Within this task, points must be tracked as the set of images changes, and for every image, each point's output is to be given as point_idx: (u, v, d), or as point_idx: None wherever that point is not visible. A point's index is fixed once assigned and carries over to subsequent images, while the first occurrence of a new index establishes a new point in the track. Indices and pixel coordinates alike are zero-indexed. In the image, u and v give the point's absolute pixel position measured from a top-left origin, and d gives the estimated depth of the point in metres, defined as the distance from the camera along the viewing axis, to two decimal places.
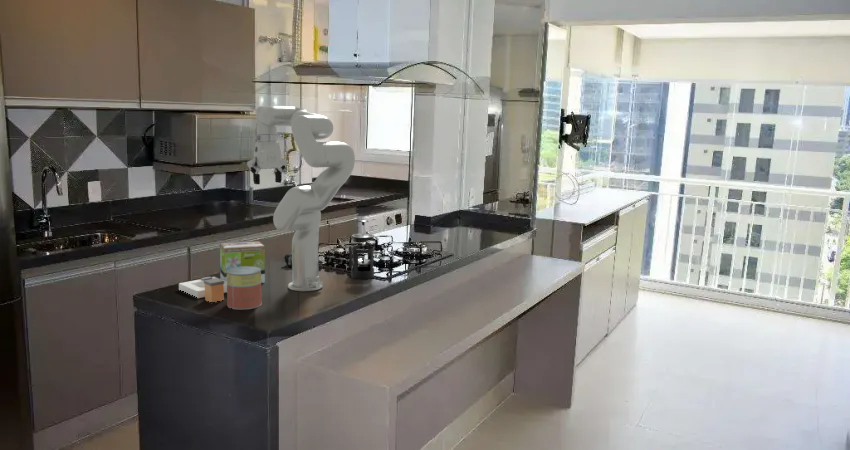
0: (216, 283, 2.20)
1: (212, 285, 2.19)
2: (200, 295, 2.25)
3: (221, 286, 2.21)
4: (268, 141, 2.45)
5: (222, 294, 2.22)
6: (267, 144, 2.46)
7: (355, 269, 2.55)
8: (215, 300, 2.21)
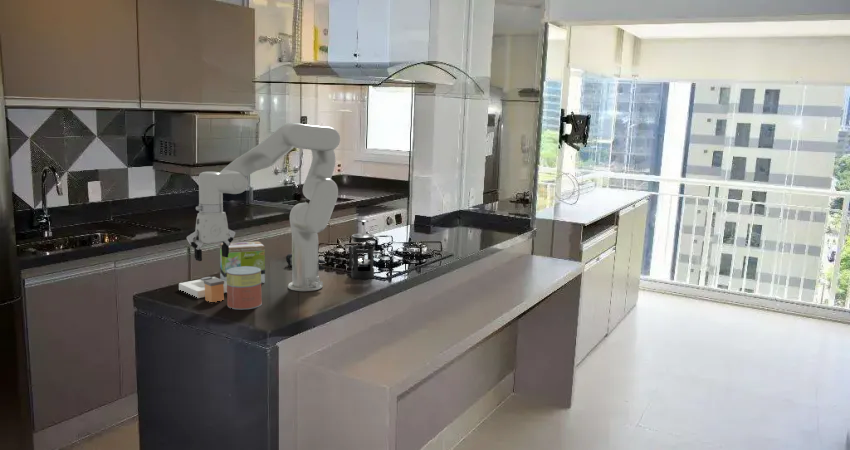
0: (216, 283, 2.20)
1: (212, 285, 2.19)
2: (200, 295, 2.25)
3: (221, 286, 2.21)
4: (212, 212, 2.14)
5: (222, 294, 2.22)
6: (211, 215, 2.15)
7: (355, 269, 2.55)
8: (215, 300, 2.21)
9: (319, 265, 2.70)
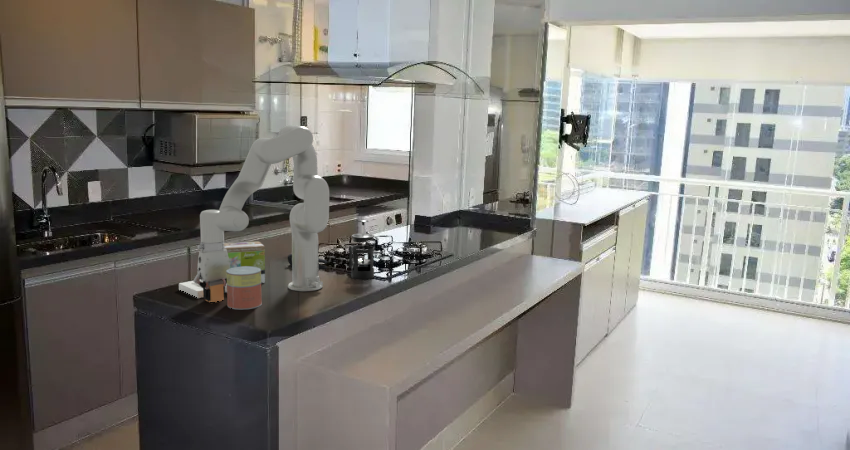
0: (216, 283, 2.20)
1: (212, 285, 2.19)
2: (200, 295, 2.25)
3: (221, 286, 2.21)
4: (213, 251, 2.16)
5: (222, 294, 2.22)
6: (212, 254, 2.17)
7: (355, 269, 2.55)
8: (215, 300, 2.21)
9: (321, 265, 2.70)
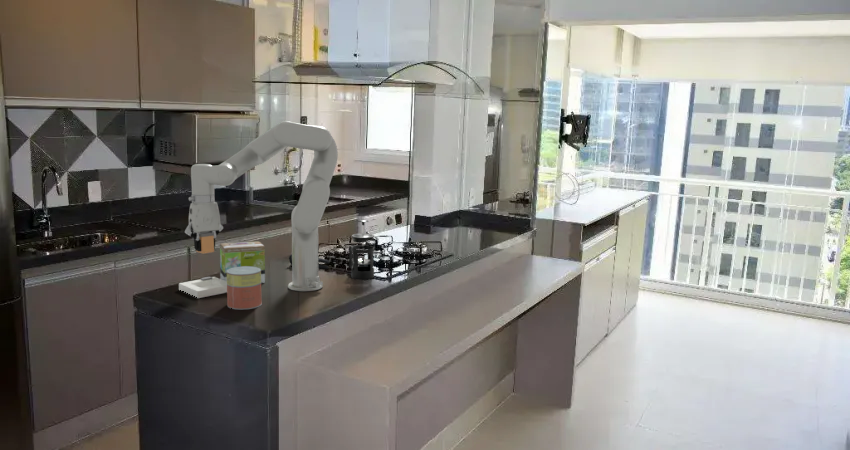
0: (206, 234, 2.29)
1: (203, 236, 2.28)
2: (200, 295, 2.25)
3: (211, 237, 2.30)
4: (204, 202, 2.25)
5: (212, 245, 2.31)
6: (203, 205, 2.26)
7: (355, 269, 2.55)
8: (205, 251, 2.29)
9: (323, 265, 2.71)
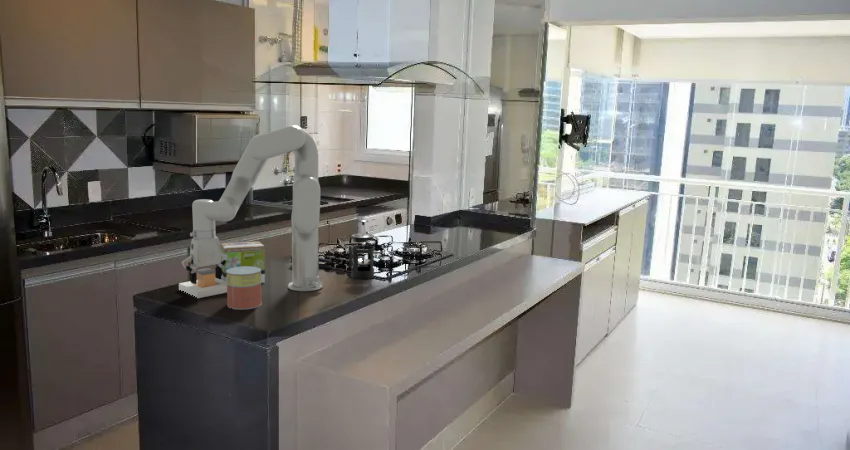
0: (208, 272, 2.31)
1: (204, 274, 2.30)
2: (200, 295, 2.25)
3: (212, 275, 2.33)
4: (205, 238, 2.28)
5: (214, 283, 2.34)
6: (204, 241, 2.28)
7: (355, 269, 2.55)
8: None
9: (325, 265, 2.71)
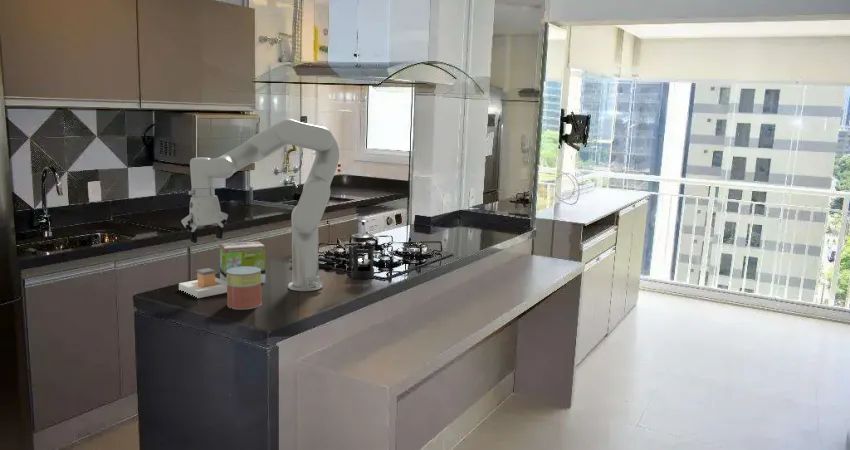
0: (208, 272, 2.31)
1: (204, 274, 2.30)
2: (200, 295, 2.25)
3: (212, 275, 2.33)
4: (204, 196, 2.25)
5: (214, 283, 2.34)
6: (203, 199, 2.26)
7: (355, 269, 2.55)
8: None
9: None
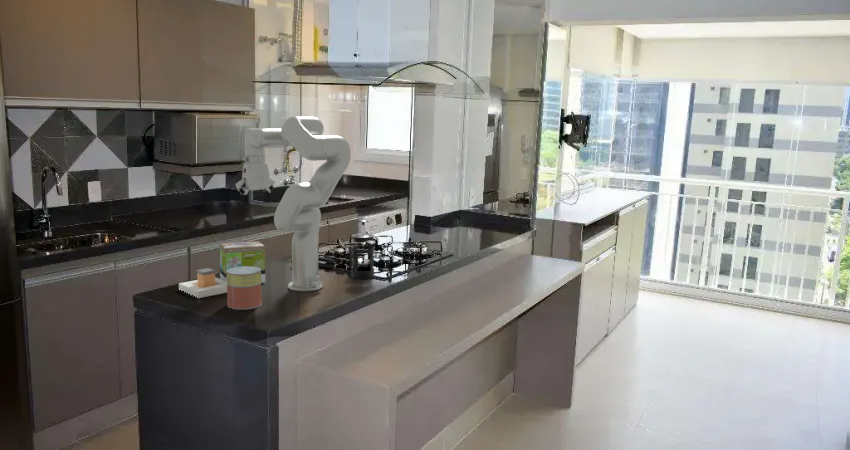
0: (208, 272, 2.31)
1: (204, 274, 2.30)
2: (200, 295, 2.25)
3: (212, 275, 2.33)
4: (256, 163, 2.49)
5: (214, 283, 2.34)
6: (255, 165, 2.50)
7: (355, 269, 2.55)
8: None
9: (329, 264, 2.72)
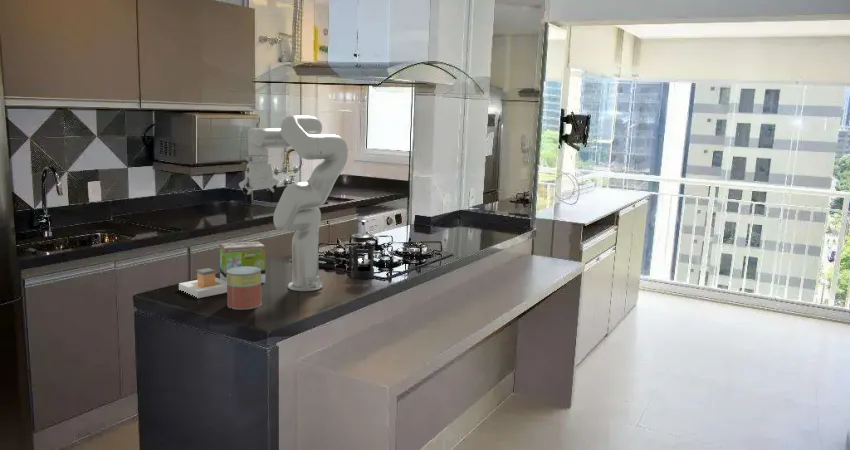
0: (208, 272, 2.31)
1: (204, 274, 2.30)
2: (200, 295, 2.25)
3: (212, 275, 2.33)
4: (260, 162, 2.51)
5: (214, 283, 2.34)
6: (259, 165, 2.52)
7: (355, 269, 2.55)
8: None
9: (330, 264, 2.72)
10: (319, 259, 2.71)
